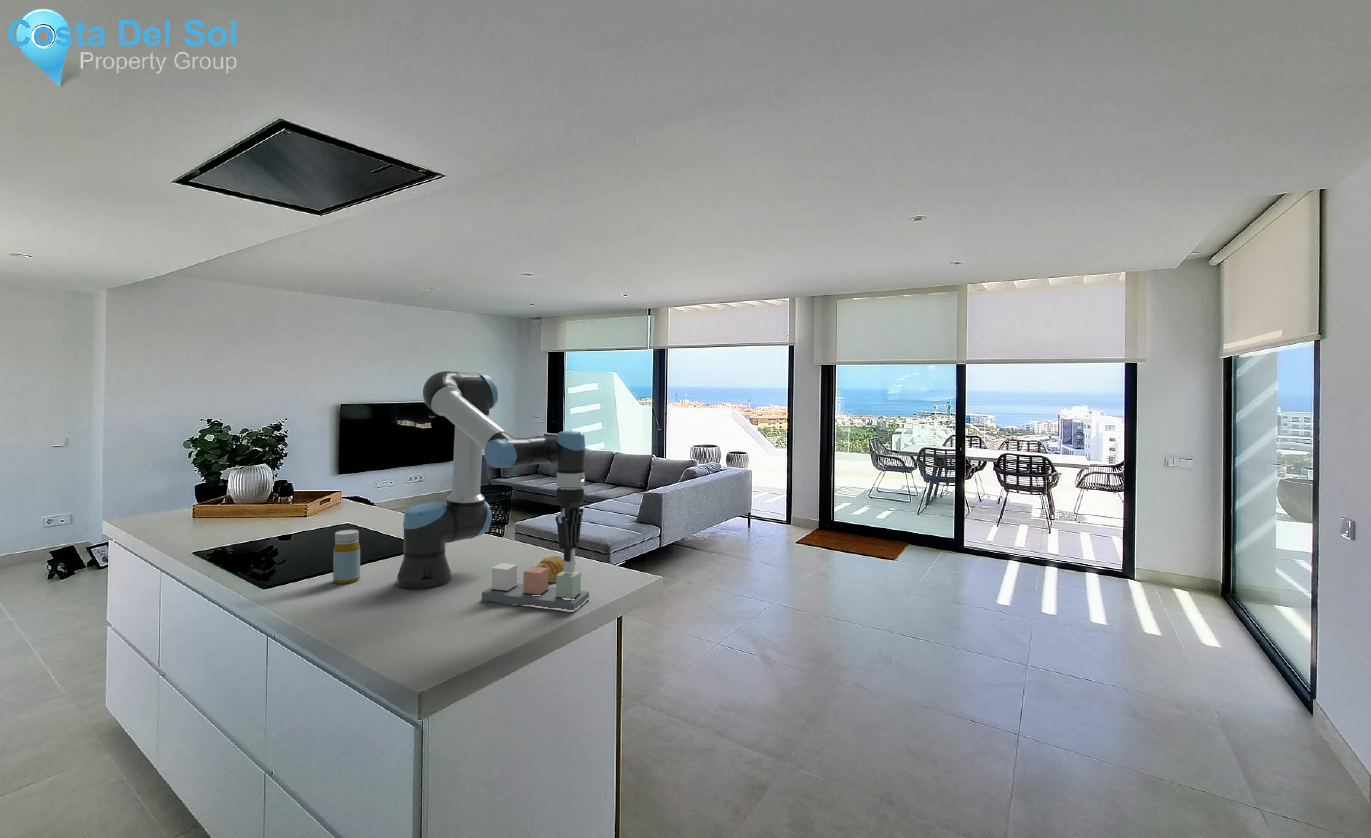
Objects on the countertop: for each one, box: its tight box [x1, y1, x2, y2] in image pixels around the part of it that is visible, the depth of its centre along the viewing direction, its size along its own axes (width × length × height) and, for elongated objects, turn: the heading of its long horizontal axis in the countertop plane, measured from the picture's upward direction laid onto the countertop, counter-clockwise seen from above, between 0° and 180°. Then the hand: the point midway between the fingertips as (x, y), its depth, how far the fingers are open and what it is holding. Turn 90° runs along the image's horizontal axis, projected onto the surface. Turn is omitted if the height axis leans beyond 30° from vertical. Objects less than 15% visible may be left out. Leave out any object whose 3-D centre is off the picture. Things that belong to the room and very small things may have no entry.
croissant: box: [535, 556, 564, 583], centre depth 182 cm, size 21×10×8 cm, turn 149°
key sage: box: [555, 570, 582, 599], centre depth 159 cm, size 5×5×6 cm
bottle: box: [332, 529, 361, 585], centre depth 174 cm, size 7×7×15 cm
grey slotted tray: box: [481, 582, 590, 610], centre depth 162 cm, size 28×10×2 cm, turn 76°
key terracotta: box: [522, 566, 549, 595], centre depth 162 cm, size 5×5×6 cm
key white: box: [491, 562, 518, 591], centre depth 164 cm, size 5×5×6 cm
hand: (569, 571), depth 159 cm, fingers closed
